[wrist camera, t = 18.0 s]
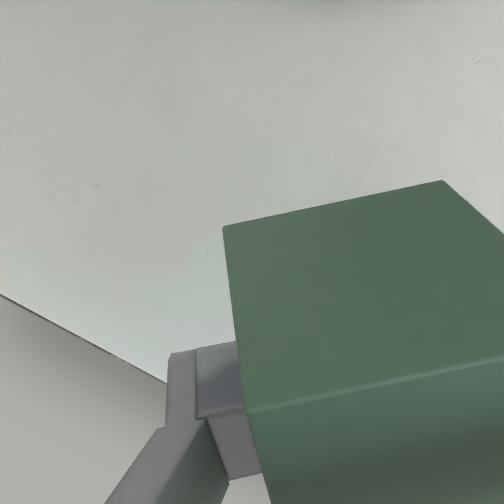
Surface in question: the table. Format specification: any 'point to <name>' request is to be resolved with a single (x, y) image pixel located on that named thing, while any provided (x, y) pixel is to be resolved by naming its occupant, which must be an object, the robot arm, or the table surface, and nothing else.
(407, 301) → the soap block
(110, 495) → the robot arm
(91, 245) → the table surface
